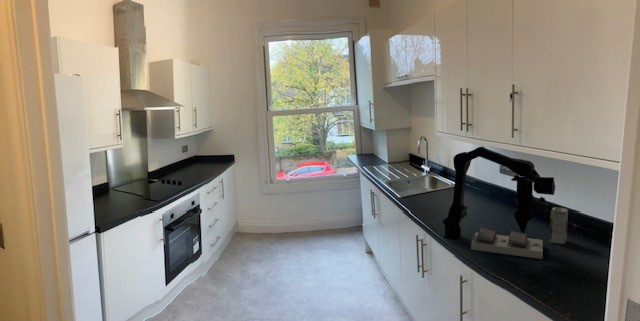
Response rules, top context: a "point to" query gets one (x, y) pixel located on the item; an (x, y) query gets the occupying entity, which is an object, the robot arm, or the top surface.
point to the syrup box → (558, 225)
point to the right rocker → (517, 238)
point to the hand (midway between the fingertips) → (523, 229)
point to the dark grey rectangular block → (486, 234)
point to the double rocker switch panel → (508, 246)
